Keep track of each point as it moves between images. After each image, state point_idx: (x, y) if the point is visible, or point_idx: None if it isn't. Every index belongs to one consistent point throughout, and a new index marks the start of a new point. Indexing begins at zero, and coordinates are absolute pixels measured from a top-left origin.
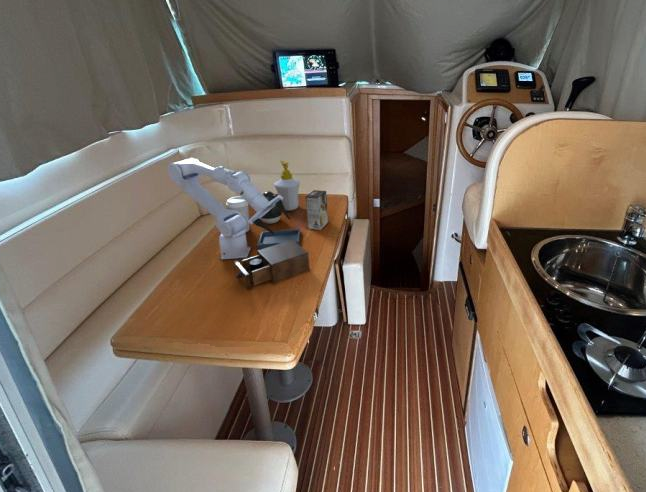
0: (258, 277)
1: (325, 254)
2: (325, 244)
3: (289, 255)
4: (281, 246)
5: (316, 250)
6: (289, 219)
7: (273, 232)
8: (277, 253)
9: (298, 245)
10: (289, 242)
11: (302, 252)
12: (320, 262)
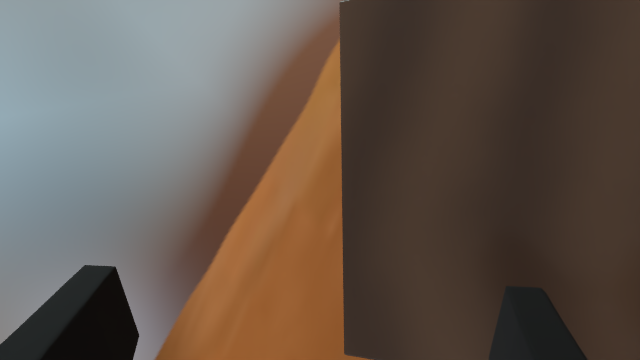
0: None
1: (263, 193)
2: (210, 317)
3: (512, 20)
4: (498, 291)
5: (279, 286)
6: (123, 304)
7: (512, 291)
8: (618, 146)
9: (349, 188)
10: (389, 317)
11: (379, 19)
12: (329, 112)
